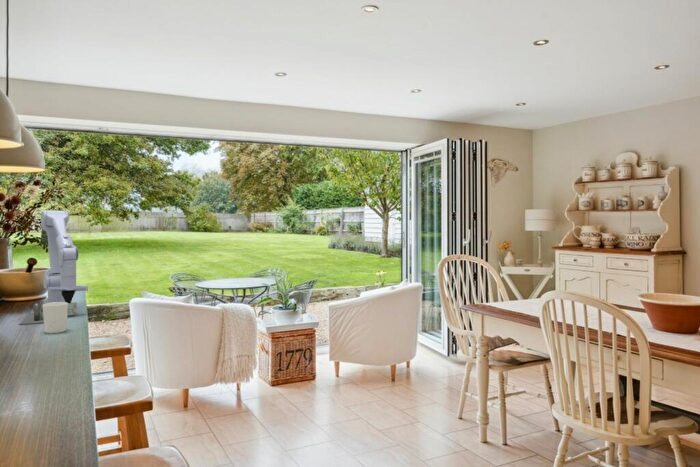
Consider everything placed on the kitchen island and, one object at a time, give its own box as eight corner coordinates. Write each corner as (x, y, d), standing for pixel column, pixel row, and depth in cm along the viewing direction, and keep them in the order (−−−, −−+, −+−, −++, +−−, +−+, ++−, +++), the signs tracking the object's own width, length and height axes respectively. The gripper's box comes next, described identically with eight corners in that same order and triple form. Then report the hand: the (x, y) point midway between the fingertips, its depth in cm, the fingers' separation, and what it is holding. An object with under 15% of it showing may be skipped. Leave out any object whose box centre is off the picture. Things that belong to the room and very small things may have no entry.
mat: (30, 314, 211) (30, 313, 211) (68, 312, 217) (68, 311, 217) (19, 325, 191) (19, 323, 191) (61, 322, 197) (61, 321, 197)
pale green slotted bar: (75, 313, 210) (75, 302, 210) (77, 314, 209) (76, 302, 209) (40, 318, 199) (40, 306, 199) (41, 319, 198) (41, 307, 198)
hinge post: (34, 321, 198) (34, 303, 198) (40, 320, 199) (40, 303, 199) (33, 322, 196) (33, 304, 196) (39, 321, 197) (39, 304, 197)
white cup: (72, 329, 185) (72, 302, 185) (58, 334, 178) (58, 306, 177) (53, 328, 186) (52, 301, 186) (37, 333, 178) (37, 305, 178)
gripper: (46, 278, 203) (47, 311, 203) (87, 276, 208) (87, 309, 209) (49, 276, 209) (49, 308, 210) (88, 274, 215) (88, 306, 215)
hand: (68, 308), depth 210 cm, fingers closed
